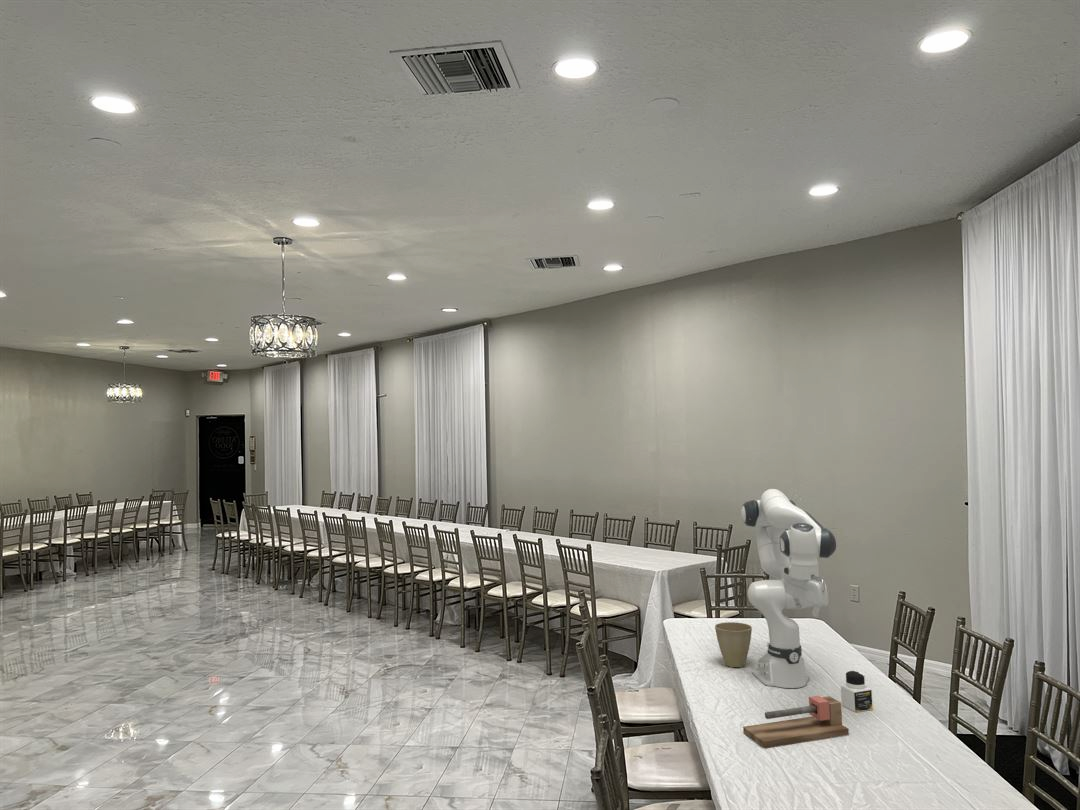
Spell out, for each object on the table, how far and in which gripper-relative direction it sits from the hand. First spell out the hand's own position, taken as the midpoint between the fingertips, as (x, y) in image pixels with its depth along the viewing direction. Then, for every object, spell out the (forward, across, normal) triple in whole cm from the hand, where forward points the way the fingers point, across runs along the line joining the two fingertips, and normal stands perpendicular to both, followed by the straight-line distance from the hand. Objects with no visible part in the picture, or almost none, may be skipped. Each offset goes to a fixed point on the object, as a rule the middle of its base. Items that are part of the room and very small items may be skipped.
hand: (806, 612), depth 243 cm
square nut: (+30, -12, +5) cm, 32 cm away
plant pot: (+37, +55, -2) cm, 66 cm away
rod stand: (+34, -12, +14) cm, 38 cm away
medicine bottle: (+35, 0, -18) cm, 39 cm away
